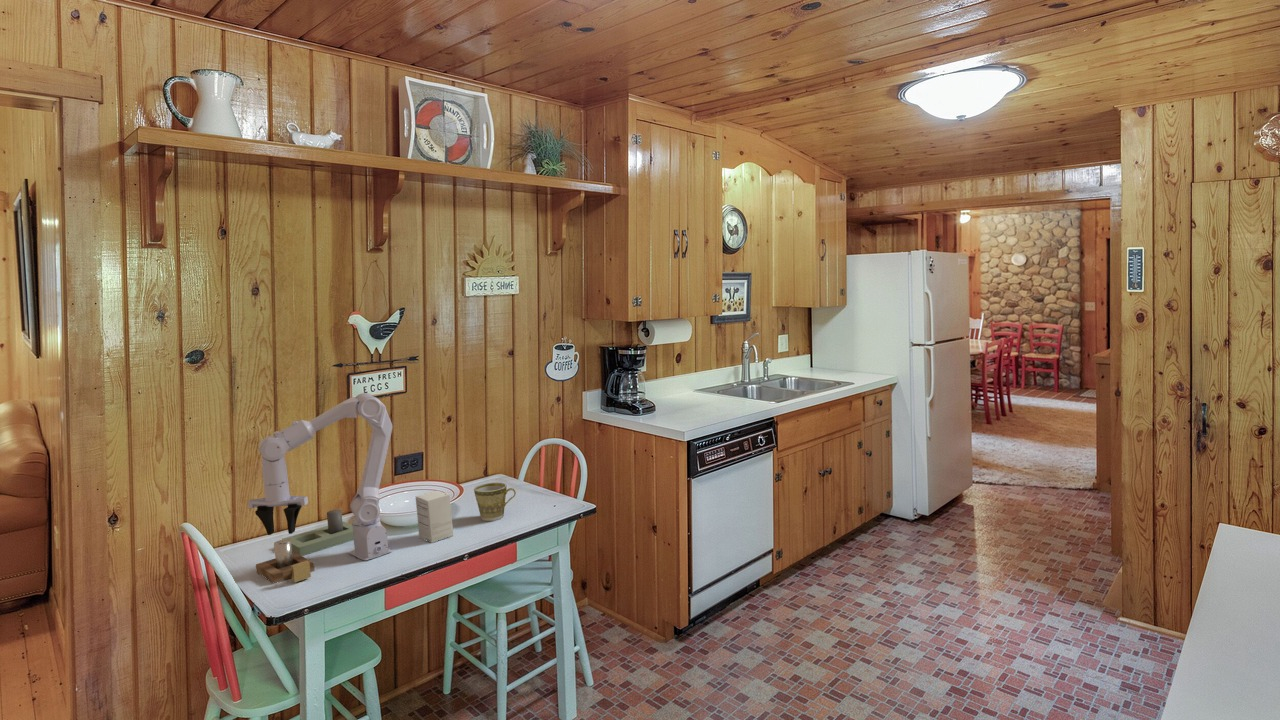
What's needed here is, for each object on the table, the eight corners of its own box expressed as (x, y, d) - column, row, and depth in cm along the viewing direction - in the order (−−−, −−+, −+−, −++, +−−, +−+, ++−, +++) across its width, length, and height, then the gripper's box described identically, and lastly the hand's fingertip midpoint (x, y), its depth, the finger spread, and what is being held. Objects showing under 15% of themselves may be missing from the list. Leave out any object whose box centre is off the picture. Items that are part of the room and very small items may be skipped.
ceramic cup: (471, 523, 216) (469, 491, 215) (482, 512, 226) (480, 482, 225) (512, 523, 214) (510, 491, 213) (521, 512, 224) (519, 481, 223)
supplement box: (441, 530, 211) (437, 489, 209) (454, 536, 205) (450, 494, 204) (418, 538, 205) (414, 495, 204) (430, 543, 200) (427, 500, 199)
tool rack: (362, 537, 209) (359, 510, 208) (300, 556, 195) (297, 528, 195) (343, 529, 217) (341, 503, 216) (282, 547, 203) (280, 520, 203)
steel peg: (296, 570, 185) (293, 541, 184) (280, 575, 182) (277, 546, 181) (290, 567, 188) (287, 538, 187) (274, 572, 185) (271, 542, 184)
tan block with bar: (310, 577, 179) (309, 561, 179) (294, 582, 176) (293, 567, 176) (297, 569, 185) (295, 554, 184) (281, 574, 182) (279, 559, 181)
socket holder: (314, 570, 185) (313, 562, 184) (274, 583, 177) (273, 575, 177) (295, 560, 193) (294, 552, 192) (256, 572, 185) (255, 564, 185)
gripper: (311, 476, 186) (316, 526, 188) (255, 479, 186) (261, 529, 188) (298, 484, 179) (304, 535, 181) (241, 487, 179) (247, 538, 181)
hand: (281, 533), depth 184 cm, fingers open, 5 cm apart
